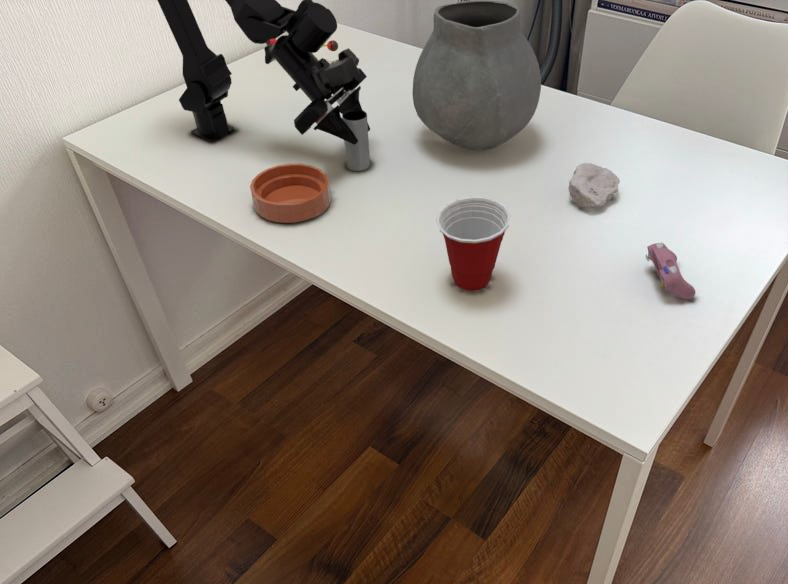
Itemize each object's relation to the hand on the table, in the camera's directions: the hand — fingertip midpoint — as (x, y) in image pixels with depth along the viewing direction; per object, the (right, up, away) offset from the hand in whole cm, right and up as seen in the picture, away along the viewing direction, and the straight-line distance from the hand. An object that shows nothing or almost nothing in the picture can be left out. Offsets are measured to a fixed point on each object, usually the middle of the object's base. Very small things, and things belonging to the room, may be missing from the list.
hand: (362, 137), depth 125 cm
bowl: (-12, -13, -4) cm, 19 cm away
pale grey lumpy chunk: (+42, -12, -3) cm, 44 cm away
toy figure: (-18, +31, +39) cm, 53 cm away
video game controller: (+50, -30, -20) cm, 61 cm away
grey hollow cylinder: (-1, -4, +5) cm, 7 cm away
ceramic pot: (+22, +3, +12) cm, 25 cm away
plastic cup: (+19, -29, -19) cm, 40 cm away
